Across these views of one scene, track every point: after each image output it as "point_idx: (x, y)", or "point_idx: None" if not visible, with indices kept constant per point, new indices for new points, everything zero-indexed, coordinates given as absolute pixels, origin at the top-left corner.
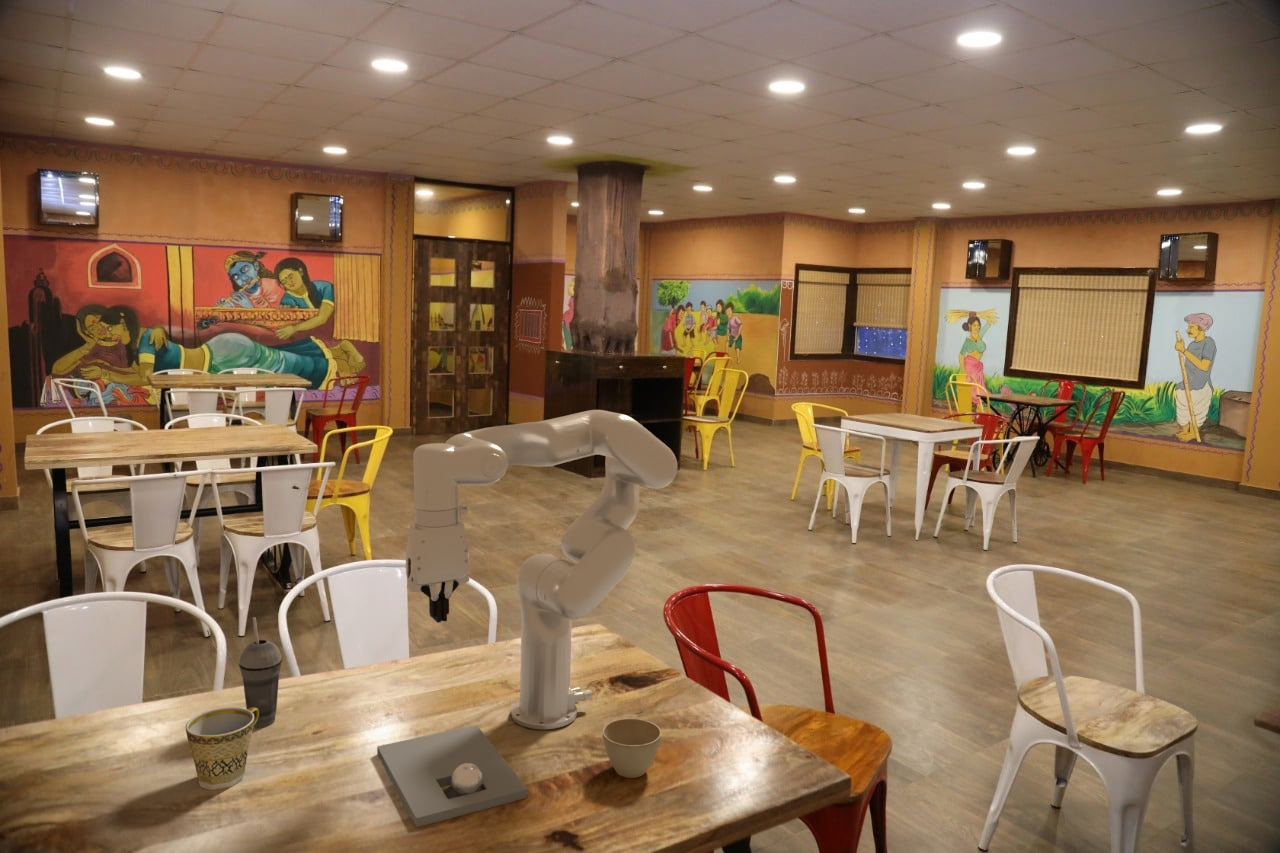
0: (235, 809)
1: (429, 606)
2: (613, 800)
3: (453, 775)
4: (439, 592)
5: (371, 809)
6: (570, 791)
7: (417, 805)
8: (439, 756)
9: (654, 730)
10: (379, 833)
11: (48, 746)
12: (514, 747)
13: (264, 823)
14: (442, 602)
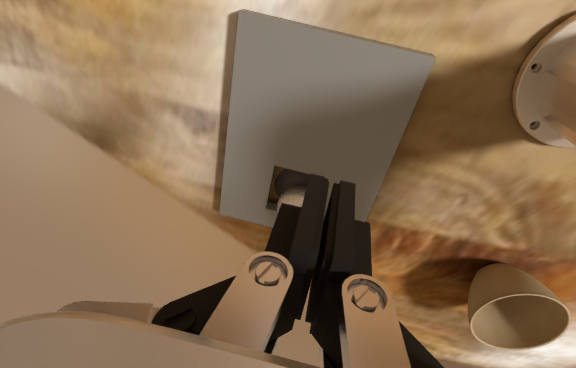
0: (27, 32)
1: (273, 227)
2: (422, 294)
3: (278, 207)
4: (325, 304)
5: (189, 148)
6: (402, 260)
7: (229, 197)
8: (310, 115)
9: (555, 326)
10: (185, 191)
11: None
12: (438, 141)
13: (67, 92)
14: (306, 314)
